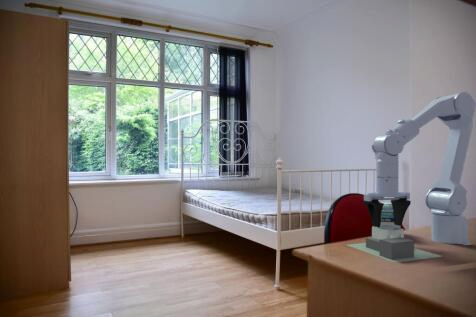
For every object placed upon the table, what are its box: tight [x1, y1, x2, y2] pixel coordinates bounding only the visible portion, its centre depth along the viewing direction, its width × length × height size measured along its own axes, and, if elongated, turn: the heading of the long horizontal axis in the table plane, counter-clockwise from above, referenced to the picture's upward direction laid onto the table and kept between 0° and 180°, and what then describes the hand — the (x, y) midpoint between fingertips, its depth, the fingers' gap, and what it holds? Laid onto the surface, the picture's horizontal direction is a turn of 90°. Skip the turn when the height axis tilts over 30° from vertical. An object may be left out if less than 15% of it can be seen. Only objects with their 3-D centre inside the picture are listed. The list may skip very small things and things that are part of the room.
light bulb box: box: [372, 201, 402, 229], centre depth 112 cm, size 11×7×11 cm, turn 168°
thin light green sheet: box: [346, 236, 443, 264], centre depth 93 cm, size 15×18×5 cm
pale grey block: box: [371, 225, 405, 239], centre depth 99 cm, size 6×6×5 cm
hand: (387, 225), depth 99 cm, fingers open, 7 cm apart
